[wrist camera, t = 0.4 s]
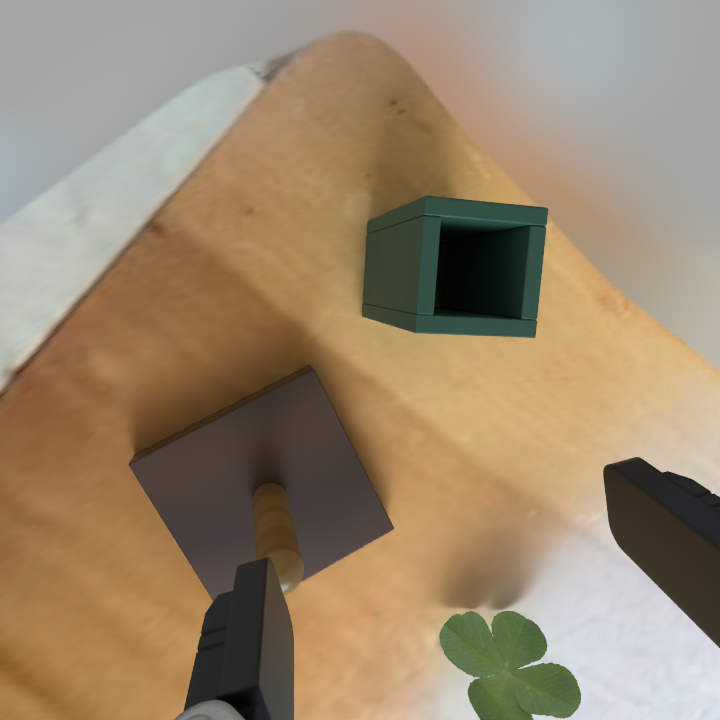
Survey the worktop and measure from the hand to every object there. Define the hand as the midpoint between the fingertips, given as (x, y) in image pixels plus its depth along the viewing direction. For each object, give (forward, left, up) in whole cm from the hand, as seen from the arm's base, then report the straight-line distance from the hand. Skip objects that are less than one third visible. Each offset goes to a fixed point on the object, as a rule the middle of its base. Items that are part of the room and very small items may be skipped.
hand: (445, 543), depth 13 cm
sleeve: (-4, +7, -17) cm, 19 cm away
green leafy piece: (+19, +1, -17) cm, 26 cm away
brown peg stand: (+3, -5, -17) cm, 18 cm away
